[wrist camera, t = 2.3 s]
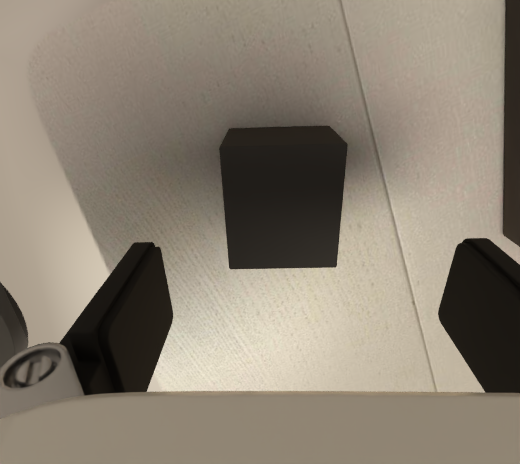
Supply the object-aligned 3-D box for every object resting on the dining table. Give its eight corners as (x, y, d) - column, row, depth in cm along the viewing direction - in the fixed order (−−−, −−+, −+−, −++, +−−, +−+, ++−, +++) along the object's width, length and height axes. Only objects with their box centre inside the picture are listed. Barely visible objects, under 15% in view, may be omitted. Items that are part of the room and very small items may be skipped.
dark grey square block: (235, 230, 21) (229, 270, 17) (228, 128, 19) (218, 146, 15) (323, 229, 21) (336, 267, 17) (329, 125, 18) (347, 143, 14)
